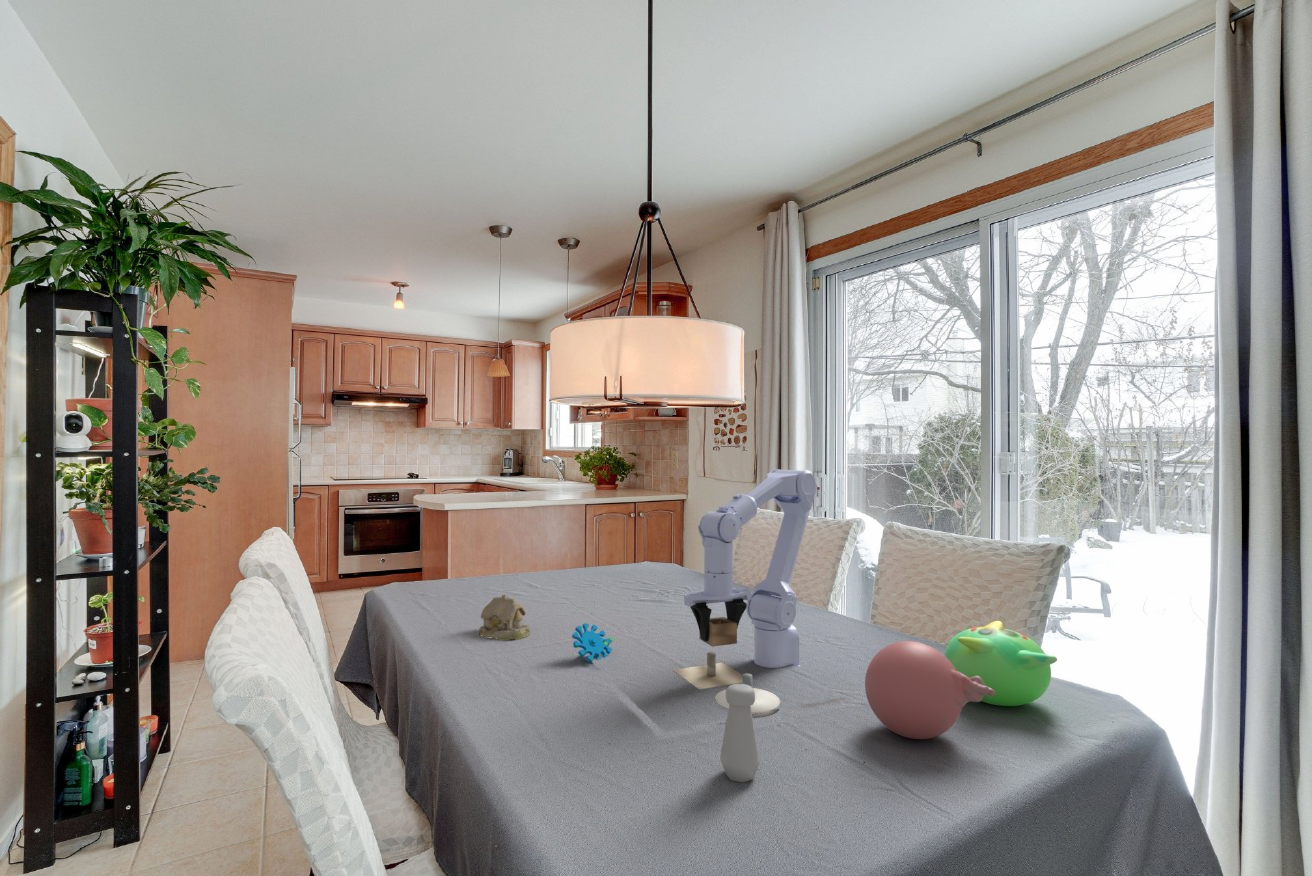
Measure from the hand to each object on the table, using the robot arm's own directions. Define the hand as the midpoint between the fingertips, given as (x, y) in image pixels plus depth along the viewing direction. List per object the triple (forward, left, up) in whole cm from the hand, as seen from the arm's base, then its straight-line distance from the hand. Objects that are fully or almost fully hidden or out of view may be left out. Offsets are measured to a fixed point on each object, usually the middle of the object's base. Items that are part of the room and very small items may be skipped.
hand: (718, 638), depth 132 cm
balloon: (-20, +35, -10) cm, 42 cm away
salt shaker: (+15, +33, -10) cm, 38 cm away
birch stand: (0, -3, -9) cm, 10 cm away
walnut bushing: (0, 0, -1) cm, 1 cm away
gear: (+18, -25, -10) cm, 33 cm away
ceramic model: (+33, -54, -10) cm, 64 cm away
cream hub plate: (0, +11, -9) cm, 15 cm away
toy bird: (-44, +29, -10) cm, 54 cm away
